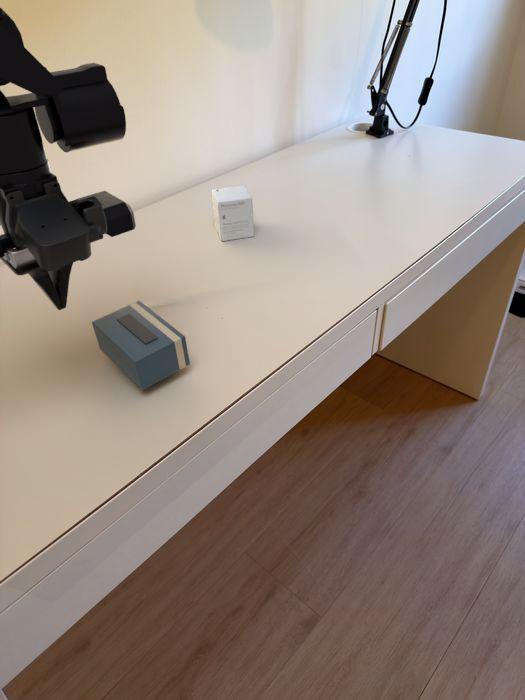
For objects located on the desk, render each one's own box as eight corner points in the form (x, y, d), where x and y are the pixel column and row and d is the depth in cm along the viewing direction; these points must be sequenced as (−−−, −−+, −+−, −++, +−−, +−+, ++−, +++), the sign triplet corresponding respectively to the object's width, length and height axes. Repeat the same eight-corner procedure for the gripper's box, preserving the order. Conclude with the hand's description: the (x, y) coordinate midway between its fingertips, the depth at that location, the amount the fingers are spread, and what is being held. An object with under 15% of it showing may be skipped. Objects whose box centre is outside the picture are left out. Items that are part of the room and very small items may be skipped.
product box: (221, 242, 92) (216, 202, 87) (215, 227, 97) (210, 188, 92) (255, 237, 93) (252, 197, 88) (247, 222, 98) (245, 184, 93)
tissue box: (142, 390, 63) (190, 364, 67) (134, 361, 60) (185, 335, 64) (99, 349, 70) (145, 327, 73) (91, 320, 67) (138, 299, 70)
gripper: (-73, 222, 38) (0, 383, 48) (150, 160, 47) (173, 305, 57) (-107, 181, 45) (-38, 330, 54) (94, 134, 54) (123, 268, 64)
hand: (60, 307), depth 57 cm, fingers closed
